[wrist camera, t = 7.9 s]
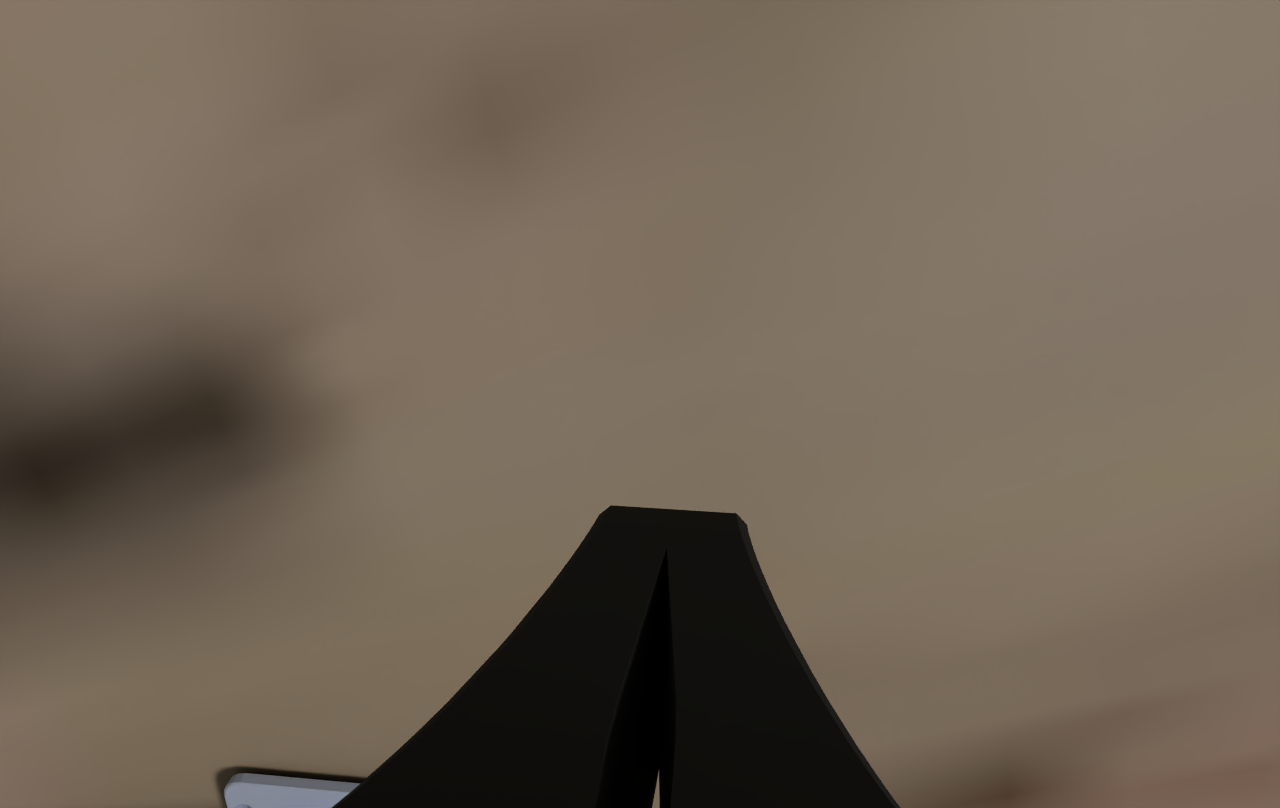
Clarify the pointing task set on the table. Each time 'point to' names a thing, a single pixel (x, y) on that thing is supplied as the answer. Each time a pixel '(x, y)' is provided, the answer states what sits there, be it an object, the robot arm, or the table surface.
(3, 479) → the table surface
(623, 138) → the table surface
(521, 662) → the robot arm
